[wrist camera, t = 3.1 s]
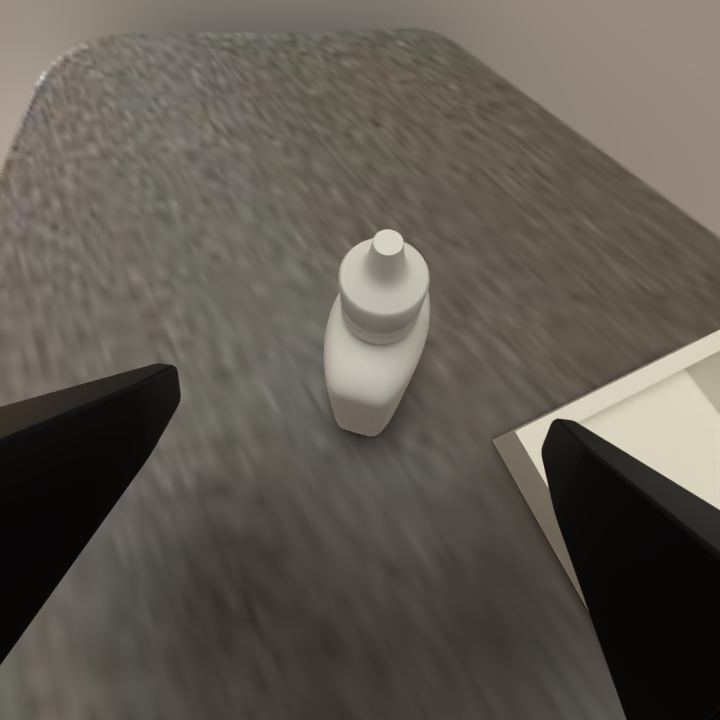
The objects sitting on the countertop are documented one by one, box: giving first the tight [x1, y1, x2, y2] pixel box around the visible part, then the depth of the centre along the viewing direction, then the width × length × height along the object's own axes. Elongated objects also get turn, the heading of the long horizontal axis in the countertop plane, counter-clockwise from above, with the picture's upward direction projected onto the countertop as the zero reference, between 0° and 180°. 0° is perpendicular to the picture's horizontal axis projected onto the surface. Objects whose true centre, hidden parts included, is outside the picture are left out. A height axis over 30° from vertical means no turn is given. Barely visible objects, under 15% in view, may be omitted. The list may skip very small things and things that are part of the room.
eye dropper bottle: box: [324, 230, 430, 436], centre depth 15 cm, size 4×6×12 cm
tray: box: [492, 330, 720, 612], centre depth 17 cm, size 12×12×3 cm
